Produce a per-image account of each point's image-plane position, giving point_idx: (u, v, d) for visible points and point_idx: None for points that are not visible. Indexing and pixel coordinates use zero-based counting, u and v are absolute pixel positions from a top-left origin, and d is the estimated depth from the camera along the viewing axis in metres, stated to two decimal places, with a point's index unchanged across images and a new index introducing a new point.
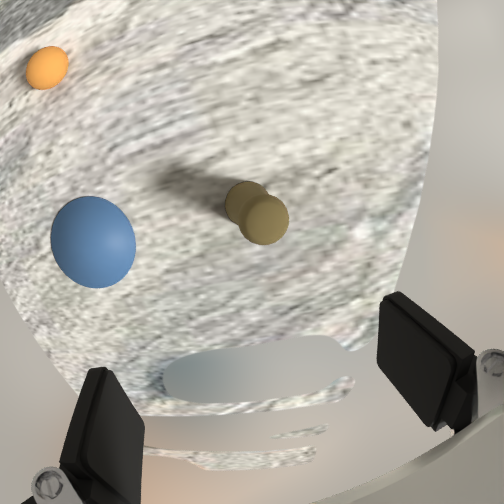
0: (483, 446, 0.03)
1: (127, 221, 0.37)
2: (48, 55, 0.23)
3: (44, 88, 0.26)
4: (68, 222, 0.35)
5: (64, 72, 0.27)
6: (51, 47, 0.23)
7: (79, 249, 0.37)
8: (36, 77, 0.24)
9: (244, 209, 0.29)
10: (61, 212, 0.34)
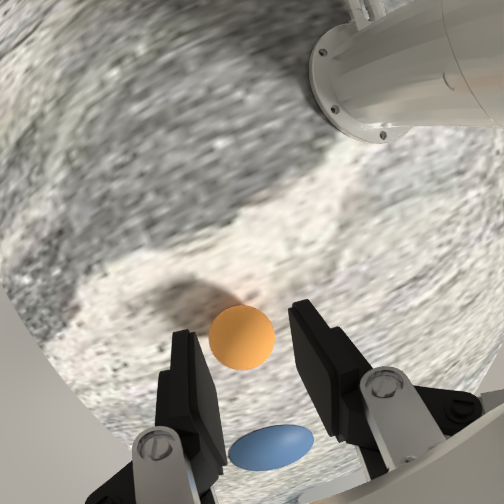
0: (483, 446, 0.03)
1: (310, 434, 0.38)
2: (262, 345, 0.24)
3: None
4: (252, 442, 0.37)
5: None
6: (258, 325, 0.25)
7: (260, 454, 0.38)
8: (244, 369, 0.25)
9: None
10: (246, 438, 0.36)
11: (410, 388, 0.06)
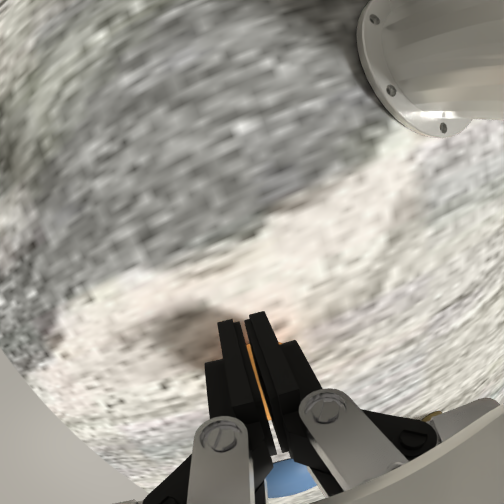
0: (483, 446, 0.03)
1: None
2: None
3: None
4: (268, 474, 0.30)
5: None
6: None
7: (275, 484, 0.32)
8: None
9: None
10: None
11: (354, 409, 0.06)
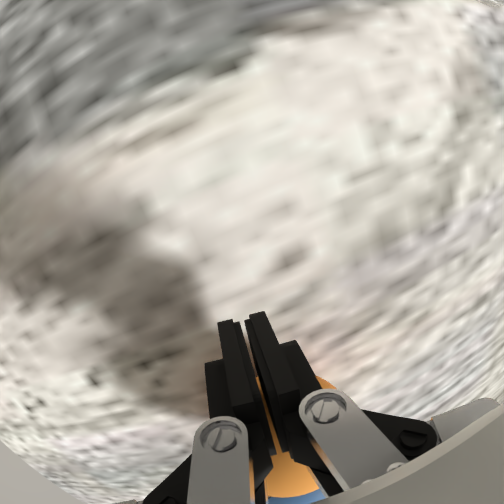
0: (483, 446, 0.03)
1: None
2: None
3: None
4: None
5: None
6: None
7: None
8: None
9: None
10: None
11: (355, 409, 0.06)
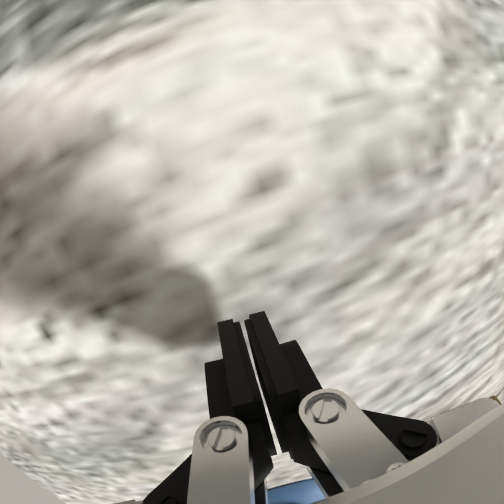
0: (483, 446, 0.03)
1: None
2: None
3: None
4: None
5: None
6: None
7: None
8: None
9: None
10: None
11: (354, 409, 0.06)
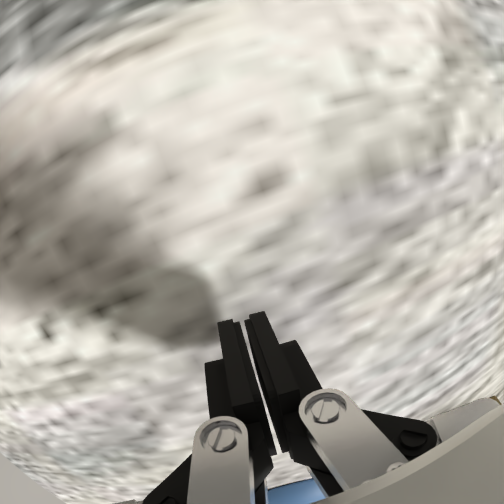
0: (483, 446, 0.03)
1: None
2: None
3: None
4: None
5: None
6: None
7: None
8: None
9: None
10: None
11: (354, 409, 0.06)
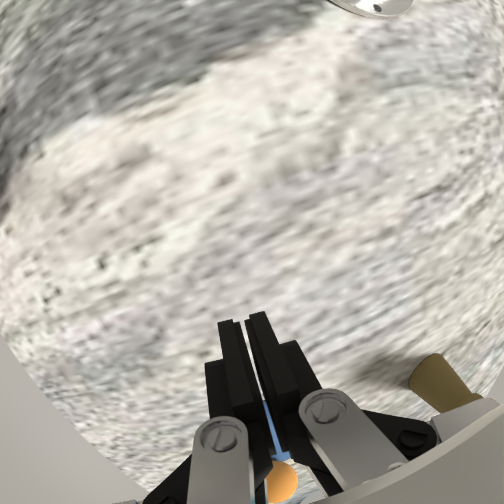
0: (483, 446, 0.03)
1: None
2: (279, 461, 0.30)
3: (270, 488, 0.26)
4: None
5: (295, 482, 0.27)
6: None
7: None
8: None
9: None
10: None
11: (355, 409, 0.06)
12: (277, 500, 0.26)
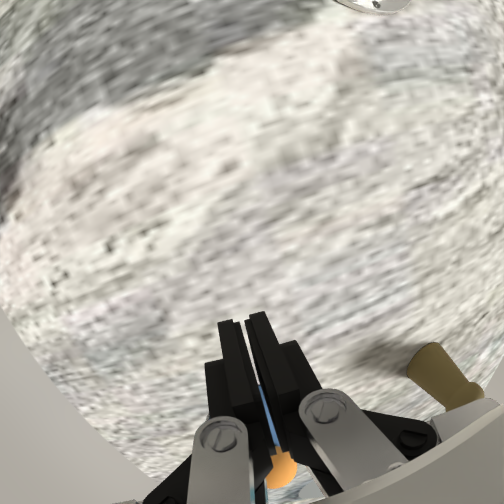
0: (483, 446, 0.03)
1: None
2: None
3: (270, 473, 0.27)
4: None
5: (294, 467, 0.29)
6: None
7: None
8: None
9: (462, 405, 0.23)
10: None
11: (355, 409, 0.06)
12: (276, 485, 0.27)
